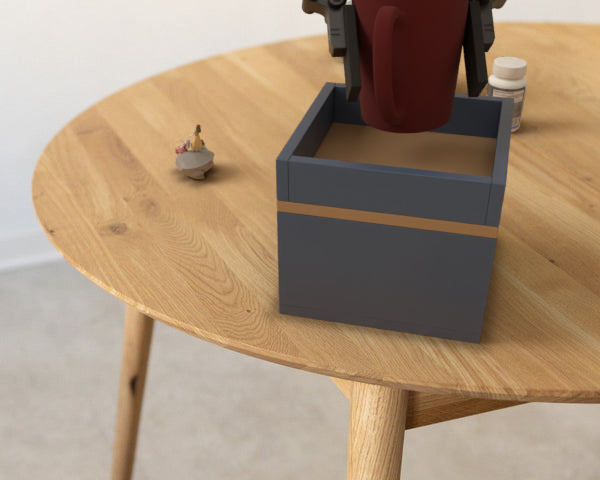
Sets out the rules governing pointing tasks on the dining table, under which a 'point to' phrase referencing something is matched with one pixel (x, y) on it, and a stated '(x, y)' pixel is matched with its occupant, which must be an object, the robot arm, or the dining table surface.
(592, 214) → the dining table surface
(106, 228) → the dining table surface
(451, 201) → the box
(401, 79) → the mug
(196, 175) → the figurine
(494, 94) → the pill bottle
